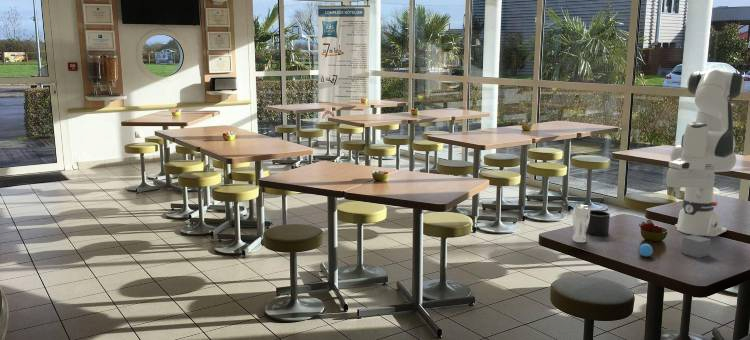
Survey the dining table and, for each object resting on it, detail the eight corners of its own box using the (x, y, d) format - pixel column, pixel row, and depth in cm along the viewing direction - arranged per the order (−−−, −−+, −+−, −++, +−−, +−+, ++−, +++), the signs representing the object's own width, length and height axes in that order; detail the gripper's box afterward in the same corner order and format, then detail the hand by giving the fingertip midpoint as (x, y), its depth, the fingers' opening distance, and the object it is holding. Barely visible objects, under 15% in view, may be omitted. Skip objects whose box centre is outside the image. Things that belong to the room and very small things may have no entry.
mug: (611, 230, 287) (612, 211, 285) (606, 237, 276) (607, 217, 275) (589, 227, 291) (591, 208, 289) (583, 234, 281) (585, 214, 279)
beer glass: (589, 243, 267) (591, 209, 264) (571, 242, 268) (574, 208, 266) (587, 239, 274) (589, 205, 271) (570, 237, 275) (572, 204, 272)
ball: (643, 253, 255) (645, 241, 254) (654, 257, 251) (656, 244, 250) (635, 255, 253) (636, 243, 252) (646, 259, 248) (647, 246, 247)
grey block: (692, 250, 260) (694, 234, 259) (709, 255, 254) (711, 239, 252) (681, 252, 256) (683, 237, 255) (698, 258, 250) (699, 241, 249)
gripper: (708, 162, 257) (704, 196, 259) (665, 162, 251) (661, 196, 253) (720, 165, 251) (716, 199, 253) (676, 164, 245) (672, 199, 247)
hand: (688, 198), depth 253 cm, fingers open, 8 cm apart
